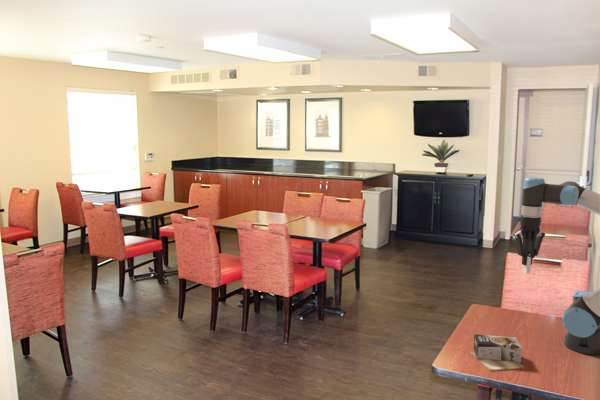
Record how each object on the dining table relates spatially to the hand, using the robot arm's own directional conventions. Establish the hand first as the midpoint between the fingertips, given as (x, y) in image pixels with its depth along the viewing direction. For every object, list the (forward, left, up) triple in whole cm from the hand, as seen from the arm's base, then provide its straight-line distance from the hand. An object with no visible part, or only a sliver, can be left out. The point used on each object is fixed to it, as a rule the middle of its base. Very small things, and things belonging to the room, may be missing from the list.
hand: (526, 272), depth 206 cm
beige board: (+19, +13, -30) cm, 38 cm away
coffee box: (+10, +13, -27) cm, 31 cm away
